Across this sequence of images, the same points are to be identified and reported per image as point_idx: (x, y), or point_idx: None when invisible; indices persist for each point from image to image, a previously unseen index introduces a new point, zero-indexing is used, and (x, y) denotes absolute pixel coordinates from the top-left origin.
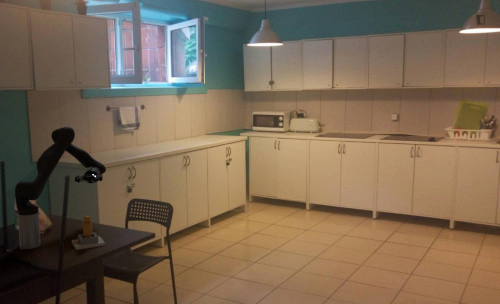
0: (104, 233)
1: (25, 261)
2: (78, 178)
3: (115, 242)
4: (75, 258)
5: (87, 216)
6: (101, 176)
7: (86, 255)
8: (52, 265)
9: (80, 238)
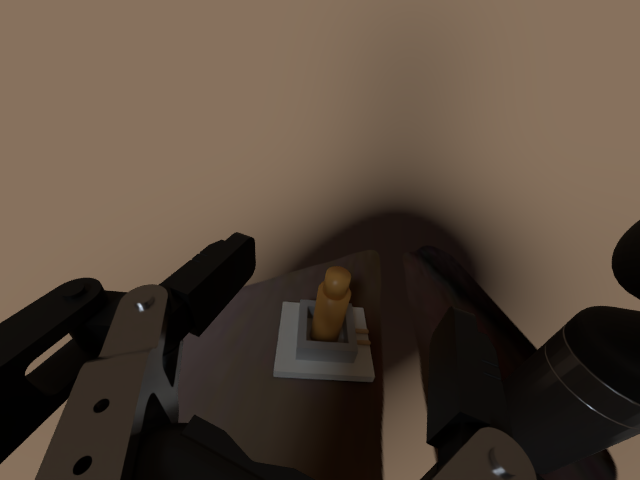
0: None
1: (470, 303)
2: (472, 341)
3: (244, 319)
4: (364, 270)
5: (336, 275)
6: (31, 310)
7: None
8: (406, 261)
9: (352, 310)
